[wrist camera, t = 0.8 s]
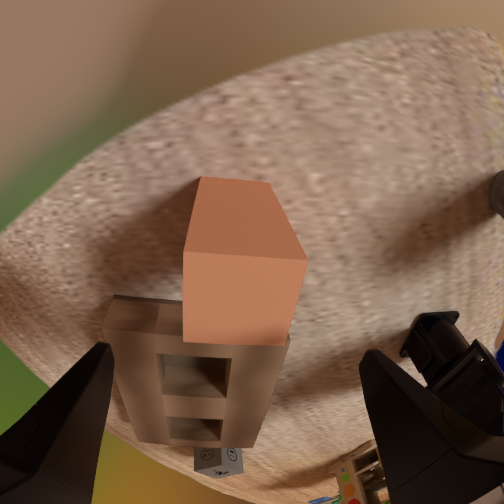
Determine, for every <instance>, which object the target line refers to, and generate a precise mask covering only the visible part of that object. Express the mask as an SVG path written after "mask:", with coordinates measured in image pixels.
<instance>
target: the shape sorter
mask: <svg viewBox="0 0 504 504" xmlns="http://www.w3.org/2000/svg"><path fill="white" fill-rule="evenodd" d="M322 499H323V500H322ZM329 499H330V500H329ZM319 500H320V501H319ZM326 500H327V501H326ZM323 501H324V502H323ZM319 502H321V503H319ZM309 503H314V504H316V503H317V504H343V501H342V497H341V494H339V495H338V497H336V498H333V499H331V498H329V497H322V498H319V499H316V500H312V501H309Z"/></svg>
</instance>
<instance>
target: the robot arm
mask: <svg viewBox="0 0 504 504" xmlns="http://www.w3.org/2000/svg"><path fill="white" fill-rule="evenodd" d="M459 315H460V314H459V313H458V311H453V312H438V313H424V314H422V315H421V317H420V318H419V320H418V322H417V324H416V326H415V327H414V329H413V331H412V333H411V335H410V336H409V338H408V340H407V341H406V343H405V345H404V347H403V348H402V350H401V352H400V353H399V355H400V357H401V358H405V357H410V358H411V360H412V362H413V363H414V365H415V367H416V369H417V370H418V372H419V373H421V374H422V376H423V377H424V379H425V381H426V383H427V386H426V387H424V386H422V385H421V384H420V383H419V382H417V381H416V380H415V379H414V378H413V377H411V376H410V375H409V374H408V373H407V372H405V371H404V370H403V369H402V368H400V367H399V366H398V365H397V364H396V363H394V362H393V361H392V360H391V359H389V358H388V357H387V356H386V355H385V354H383V353H382V352H381V351H380V350H378V349H370V350H367V351H366V353H365V355H364V357H363V358H362V360H361V362H360V364H359V372H360V378H361V383H362V389H363V394H364V400H365V404H366V408H367V412H368V415H369V419H370V422H371V426H372V430H373V433H374V437H375V441H376V444H377V448H378V452H379V456H380V460H381V464H382V468H383V472H384V476H385V480H386V485H387V489H388V492H389V493H388V494H389V498H390V503H391V504H504V374H503V372H502V370H501V369H500V367H499V365H498V363H497V361H496V360H495V358H494V357H493V356H492V355H491V353H490V352H489V351H488V349H487V348H486V347H485V346H484V345H483V344H482V343H480V342H479V341H478V340H477V339H475V340H474V341H473V343H472V344H471V345H469V344H468V342H467V341H466V340H465V338H464V337H463V336H462V334H461V333H460V332H459V330H458V329H457V328H456V326H455V325H454V324H455V323H456V321H457V319H458V317H459ZM482 359H484V360H483V361H481V360H482ZM114 366H115V359H114V355H113V352H112V348H111V345H110V344H109V343H106V342H98V343H96V344H95V345H94V346H93V347H92V348H91V349H90V350H89V351H88V352H87V353H86V354H85V355H84V356H83V357H82V358H81V359H80V360H79V361H78V362H77V363H76V364H75V365H73V366H72V367H71V368H70V369H69V370H68V371H67V372H66V373H65V374H64V375H63V376H62V377H61V378H60V379H59V380H58V381H57V382H56V383H55V384H54V385H53V386H52V387H51V388H50V389H49V390H48V391H47V392H46V393H45V394H44V395H43V396H42V397H41V398H40V399H39V400H38V402H36V404H34V405H33V406H32V407H31V409H30V410H29V411H28V412H27V413H25V415H23V416H22V417H21V418H20V420H18V421H17V422H16V423H15V424H14V425H12V426H11V427H10V428H9V429H8V430H6V431H5V432H4V433H3V434H2V435H0V504H91V502H92V494H93V488H94V481H95V475H96V468H97V463H98V457H99V452H100V446H101V441H102V436H103V431H104V427H105V422H106V418H107V413H108V409H109V404H110V397H111V389H112V381H113V374H114Z"/></svg>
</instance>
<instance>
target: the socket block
mask: <svg viewBox="0 0 504 504" xmlns="http://www.w3.org/2000/svg"><path fill="white" fill-rule="evenodd" d="M101 330H102V334H103V338H104V342H106V343H109V344H110V345H111V348H112V352H113V355H114V359H115V366H114V376H115V379H116V382H117V385H118V388H119V391H120V394H121V397H122V400H123V403H124V405H125V408H126V411H127V414H128V416H129V419H130V421H131V424H132V426H133V429H134V431H135V434H136V436H137V439H138V441H140V442H147V443H155V444H164V445H175V446H188V447H207V448H253V446H254V444H255V441H256V438H257V436H258V433H259V430H260V428H261V425H262V422H263V420H264V417H265V414H266V411H267V409H268V406H269V403H270V400H271V397H272V394H273V392H274V389H275V386H276V383H277V380H278V377H279V374H280V371H281V368H282V365H283V362H284V359H285V356H286V353H287V350H288V347H289V343H290V337H289V333H288V335H287V338H286V342H285V345H284V346H265V345H229V344H209V343H193V342H183V301H174V300H162V299H151V298H140V297H130V296H120V295H114V297H113V299H112V302H111V304H110V306H109V309H108V311H107V314H106V316H105V318H104V321H103V323H102V326H101Z"/></svg>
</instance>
